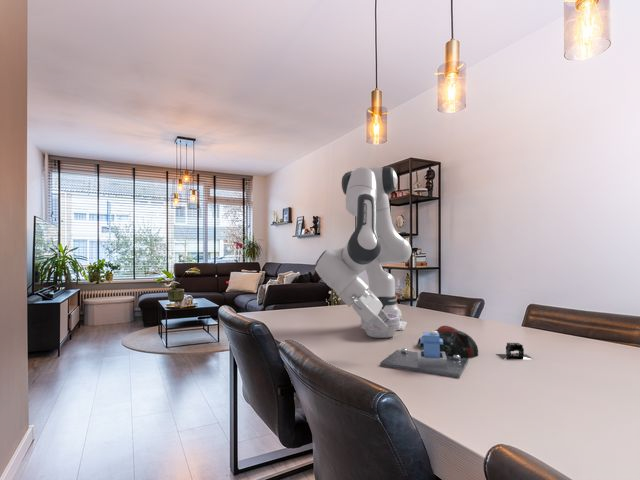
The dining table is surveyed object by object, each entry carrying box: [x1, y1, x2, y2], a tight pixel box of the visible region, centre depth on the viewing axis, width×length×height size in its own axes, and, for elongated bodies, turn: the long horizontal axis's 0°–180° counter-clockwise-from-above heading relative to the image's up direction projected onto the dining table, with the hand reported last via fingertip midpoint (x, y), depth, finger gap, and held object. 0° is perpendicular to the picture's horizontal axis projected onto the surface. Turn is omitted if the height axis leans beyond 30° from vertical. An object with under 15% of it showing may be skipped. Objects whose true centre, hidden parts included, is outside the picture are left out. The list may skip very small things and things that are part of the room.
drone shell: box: [417, 325, 479, 359], centre depth 128 cm, size 21×20×8 cm
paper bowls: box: [360, 313, 400, 339], centre depth 149 cm, size 15×15×8 cm
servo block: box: [419, 330, 443, 358], centre depth 110 cm, size 4×6×9 cm
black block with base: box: [495, 342, 534, 360], centre depth 118 cm, size 12×7×5 cm, turn 86°
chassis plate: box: [379, 347, 470, 378], centre depth 111 cm, size 16×22×3 cm
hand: (387, 325), depth 114 cm, fingers open, 8 cm apart
